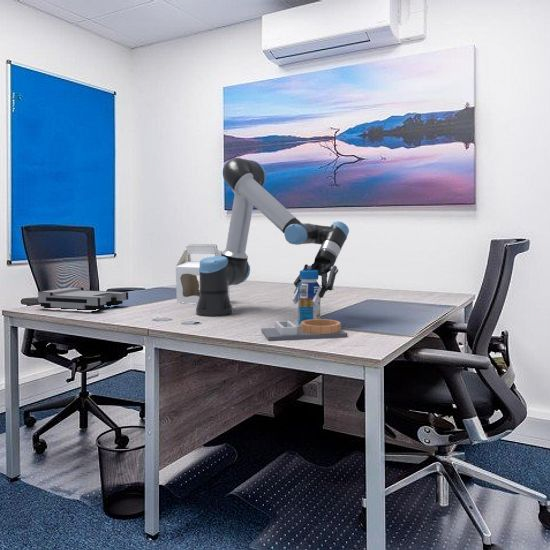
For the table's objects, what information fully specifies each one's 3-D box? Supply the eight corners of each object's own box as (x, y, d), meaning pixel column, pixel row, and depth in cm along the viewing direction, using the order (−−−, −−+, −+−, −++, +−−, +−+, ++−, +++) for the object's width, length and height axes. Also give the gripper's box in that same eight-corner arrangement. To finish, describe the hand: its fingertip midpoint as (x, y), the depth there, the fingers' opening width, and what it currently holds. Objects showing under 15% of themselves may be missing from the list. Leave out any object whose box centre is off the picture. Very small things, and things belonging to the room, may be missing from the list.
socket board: (268, 340, 161) (268, 329, 160) (261, 331, 174) (261, 321, 174) (347, 336, 165) (347, 325, 165) (334, 328, 179) (334, 318, 179)
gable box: (176, 303, 244) (174, 244, 241) (192, 299, 255) (190, 243, 253) (215, 305, 234) (214, 244, 231) (230, 302, 246) (229, 243, 243)
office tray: (98, 314, 214) (97, 295, 213) (38, 310, 225) (37, 292, 224) (128, 307, 233) (128, 289, 232) (72, 304, 244) (71, 287, 243)
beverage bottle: (294, 323, 189) (294, 269, 187) (316, 322, 191) (315, 269, 189) (302, 328, 180) (301, 271, 179) (324, 326, 183) (324, 271, 181)
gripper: (355, 263, 190) (333, 311, 178) (307, 261, 202) (284, 306, 191) (348, 249, 185) (325, 298, 174) (300, 248, 197) (276, 294, 186)
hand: (304, 302), depth 182 cm, fingers closed on beverage bottle, 8 cm apart
